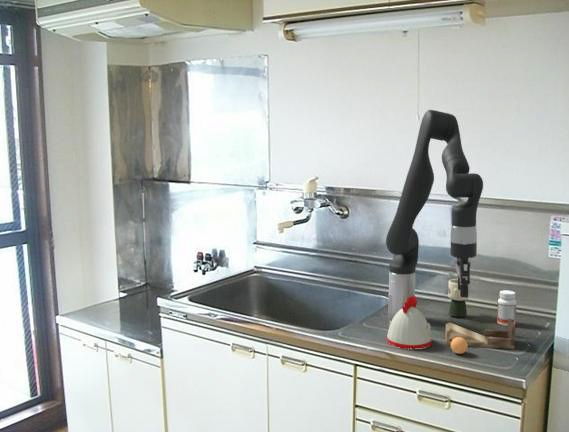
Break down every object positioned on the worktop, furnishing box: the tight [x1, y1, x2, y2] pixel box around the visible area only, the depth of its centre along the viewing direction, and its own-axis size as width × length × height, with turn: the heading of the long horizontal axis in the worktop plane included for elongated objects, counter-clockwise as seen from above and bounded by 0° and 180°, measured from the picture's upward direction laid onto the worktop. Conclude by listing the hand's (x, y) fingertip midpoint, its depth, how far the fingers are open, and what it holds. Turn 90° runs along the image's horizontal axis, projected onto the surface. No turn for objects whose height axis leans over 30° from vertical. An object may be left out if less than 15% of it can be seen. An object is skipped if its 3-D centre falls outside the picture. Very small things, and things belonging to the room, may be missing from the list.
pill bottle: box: [496, 289, 517, 327], centre depth 218 cm, size 6×6×11 cm
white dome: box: [386, 295, 432, 349], centre depth 200 cm, size 14×14×15 cm
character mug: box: [447, 278, 470, 318], centre depth 227 cm, size 11×7×13 cm, turn 151°
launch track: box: [445, 319, 516, 350], centre depth 200 cm, size 20×9×9 cm, turn 78°
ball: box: [450, 337, 469, 355], centre depth 191 cm, size 5×5×5 cm
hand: (462, 293), depth 189 cm, fingers open, 8 cm apart
